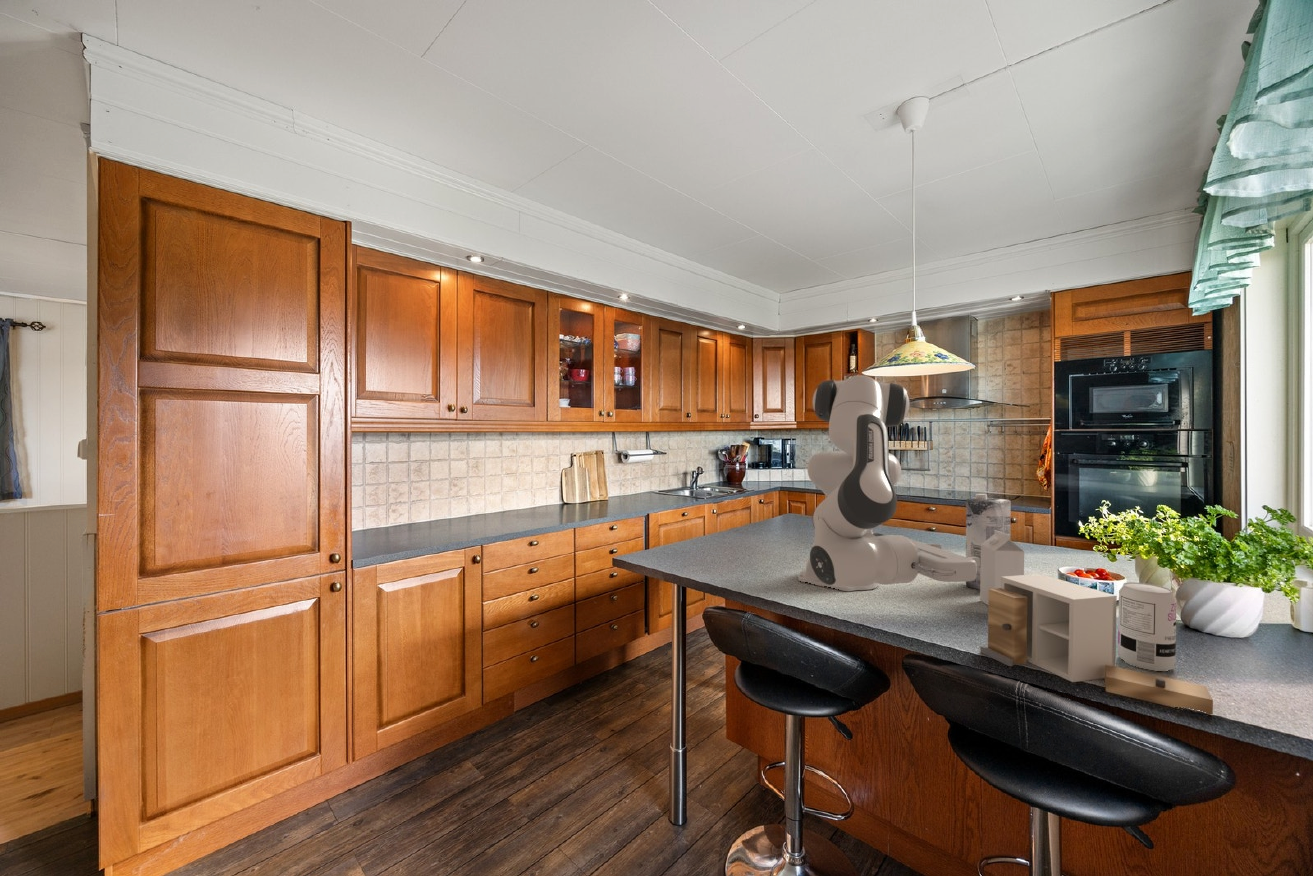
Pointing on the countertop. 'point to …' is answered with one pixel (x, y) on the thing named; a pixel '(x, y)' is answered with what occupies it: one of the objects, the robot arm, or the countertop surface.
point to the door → (1158, 689)
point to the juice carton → (984, 525)
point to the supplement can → (1147, 626)
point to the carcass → (1065, 627)
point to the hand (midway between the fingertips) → (957, 554)
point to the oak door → (1007, 624)
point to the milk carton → (998, 562)
